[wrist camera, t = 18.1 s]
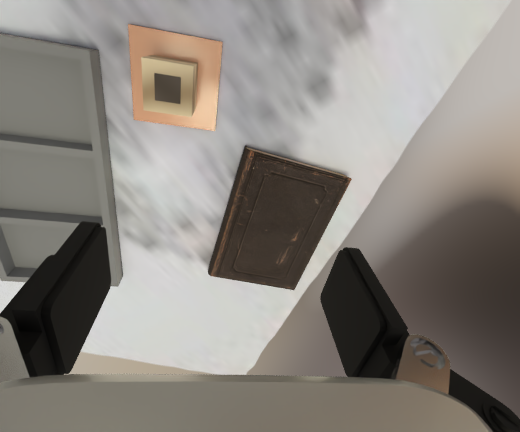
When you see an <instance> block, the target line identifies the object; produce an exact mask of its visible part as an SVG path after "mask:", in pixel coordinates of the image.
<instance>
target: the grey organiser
mask: <svg viewBox="0 0 520 432" xmlns="http://www.w3.org/2000/svg"><path fill="white" fill-rule="evenodd" d="M82 221H86V222H96V223H100V225H101V227H105V228H106V234H107V244H108V253H109V262H110V272H111V286H119V283H120V281H121V279H122V277H123V272H122V262H121V253H120V244H119V235H118V226H117V216H116V207H115V198H114V189H113V179H112V170H111V161H110V152H109V142H108V133H107V124H106V115H105V105H104V96H103V87H102V78H101V68H100V59H99V50H95V49H90V48H84V47H78V46H72V45H66V44H61V43H55V42H49V41H43V40H38V39H32V38H26V37H20V36H14V35H9V34H3V33H0V279H1V281H16V282H27V281H28V279H29V278H30V277H31V276H32V275H33V273H34V272H35V271H36V270H37V268H38V267H39V266H40V265H41V264H42V262H43V261H44V260H45V259H46V258H47V257H48V256H50V255H55V254H56V252H57V251H58V250H59V249H60V247H61V246H62V245H63V244H64V242H65V241H66V240H67V239H68V237H69V236H70V235H71V234H72V232H73V231H74V230H75V228H76V227H77V226H78V225H79V223H80V222H82Z"/></svg>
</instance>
